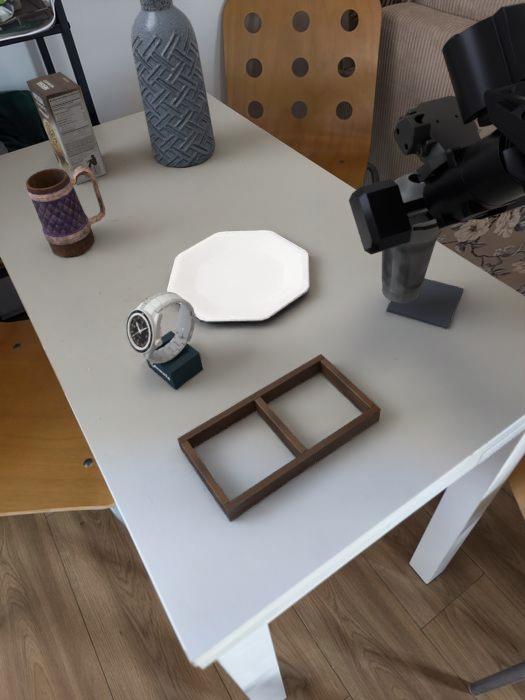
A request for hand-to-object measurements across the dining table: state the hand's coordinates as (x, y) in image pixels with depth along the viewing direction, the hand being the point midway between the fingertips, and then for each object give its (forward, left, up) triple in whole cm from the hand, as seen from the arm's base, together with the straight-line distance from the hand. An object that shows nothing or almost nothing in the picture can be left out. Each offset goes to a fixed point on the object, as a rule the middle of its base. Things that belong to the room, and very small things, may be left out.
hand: (404, 219), depth 59 cm
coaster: (-4, -2, -13) cm, 14 cm away
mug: (+49, +6, -13) cm, 51 cm away
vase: (+50, -25, -13) cm, 58 cm away
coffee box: (+65, -12, -13) cm, 68 cm away
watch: (+20, +22, -13) cm, 32 cm away
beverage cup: (-1, +1, -10) cm, 10 cm away
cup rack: (+4, +25, -13) cm, 28 cm away
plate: (+21, +4, -13) cm, 25 cm away
